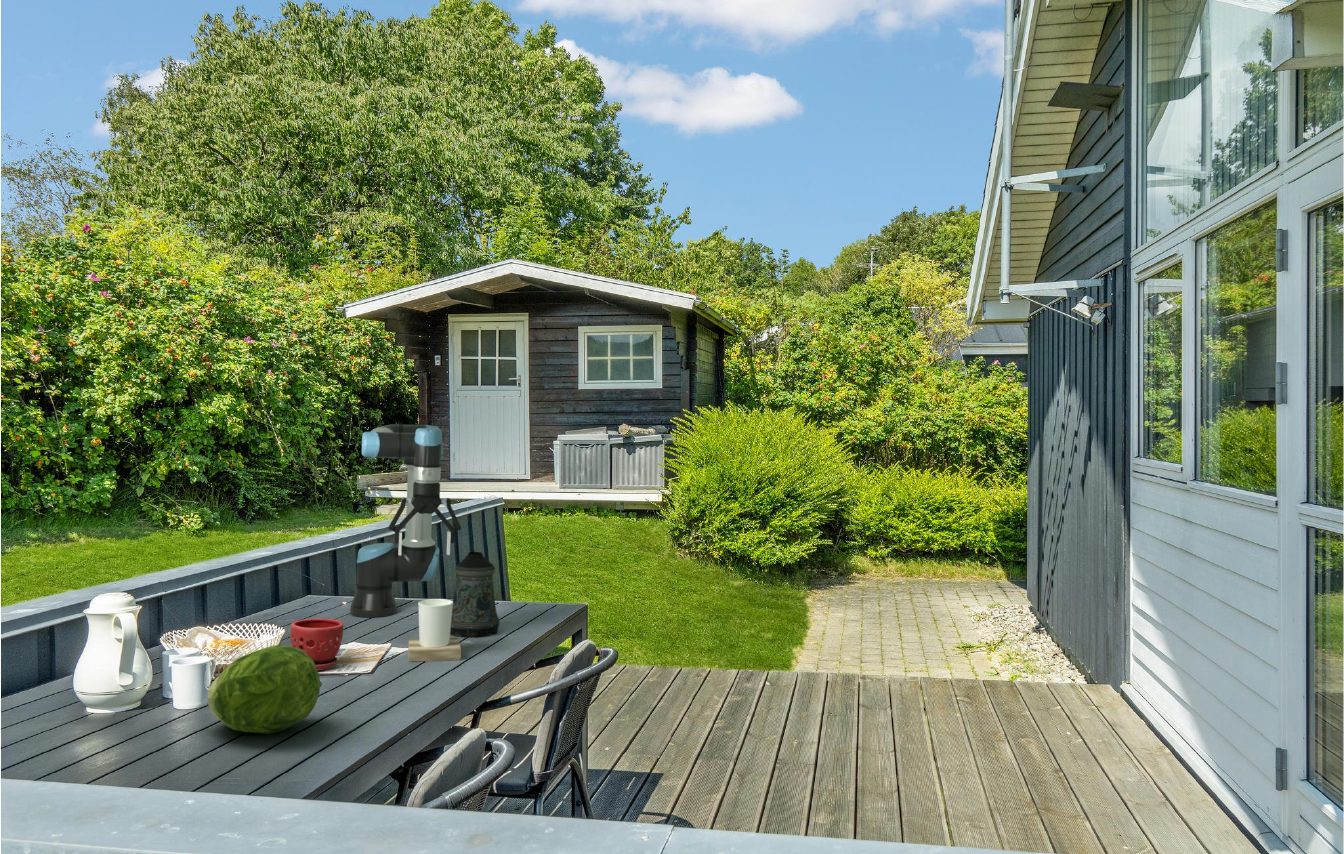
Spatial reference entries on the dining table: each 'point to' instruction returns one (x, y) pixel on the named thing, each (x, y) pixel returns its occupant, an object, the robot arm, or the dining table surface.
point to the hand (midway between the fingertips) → (424, 554)
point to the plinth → (434, 651)
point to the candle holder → (435, 622)
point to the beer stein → (474, 599)
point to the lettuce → (266, 690)
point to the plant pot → (318, 640)
